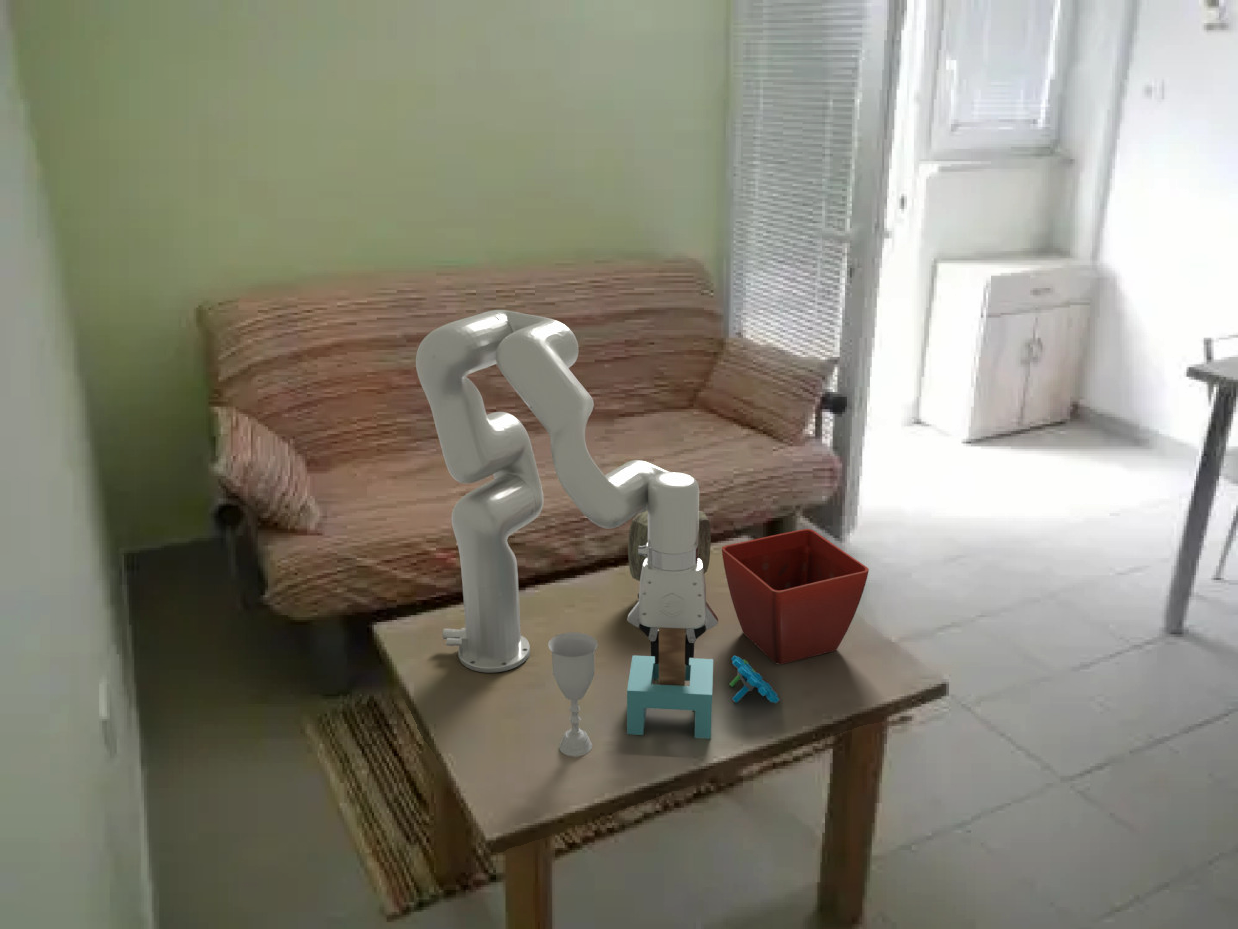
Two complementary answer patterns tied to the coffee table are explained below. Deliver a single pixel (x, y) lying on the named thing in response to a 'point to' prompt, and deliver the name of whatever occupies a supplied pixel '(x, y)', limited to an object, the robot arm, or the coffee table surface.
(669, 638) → the walnut pin
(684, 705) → the bridge block
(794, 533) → the plant pot
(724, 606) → the coffee table surface
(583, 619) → the coffee table surface
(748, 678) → the gear
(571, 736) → the chalice
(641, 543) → the tabletop clock
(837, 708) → the coffee table surface
